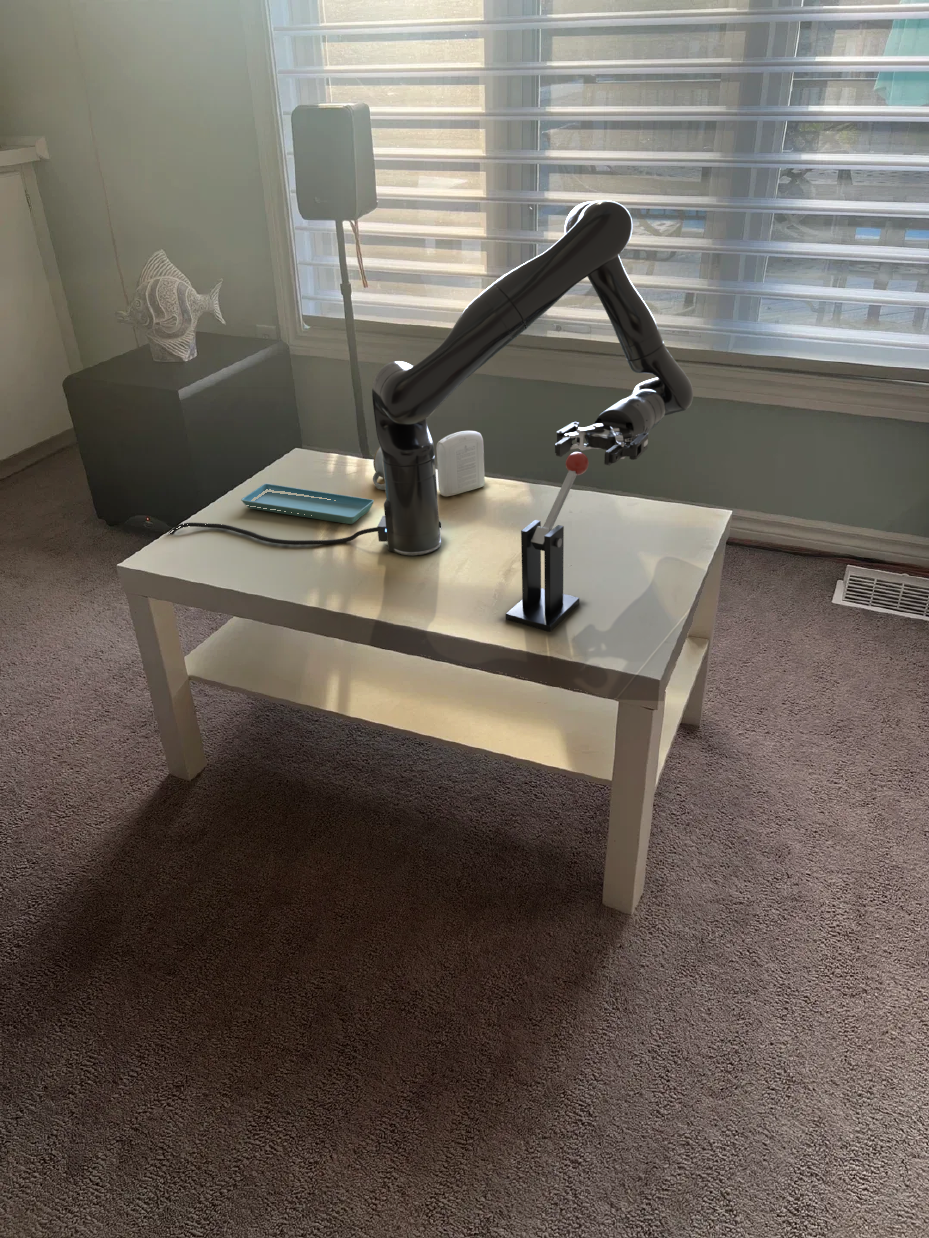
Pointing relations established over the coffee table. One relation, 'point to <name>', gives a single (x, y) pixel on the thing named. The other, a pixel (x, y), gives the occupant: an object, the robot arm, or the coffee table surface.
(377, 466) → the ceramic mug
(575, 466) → the red knobbed lever
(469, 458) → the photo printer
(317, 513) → the shallow long dish
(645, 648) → the coffee table surface
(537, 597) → the black lever stand
